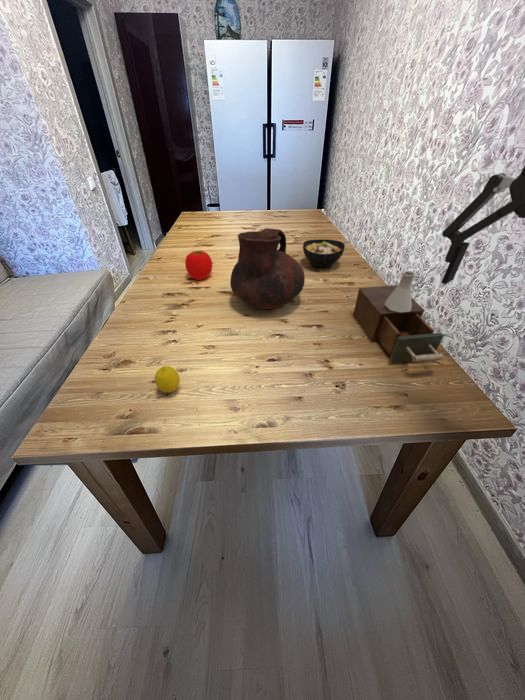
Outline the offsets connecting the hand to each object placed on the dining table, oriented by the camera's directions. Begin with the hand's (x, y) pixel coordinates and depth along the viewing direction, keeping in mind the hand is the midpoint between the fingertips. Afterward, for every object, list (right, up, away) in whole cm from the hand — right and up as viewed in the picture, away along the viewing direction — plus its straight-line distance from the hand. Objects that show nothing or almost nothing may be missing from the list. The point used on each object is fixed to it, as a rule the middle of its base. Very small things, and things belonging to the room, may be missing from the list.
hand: (488, 296), depth 46 cm
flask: (+1, +3, +33) cm, 34 cm away
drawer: (+2, -9, +32) cm, 34 cm away
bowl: (-11, +28, +78) cm, 84 cm away
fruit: (-59, -19, +24) cm, 67 cm away
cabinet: (+1, -1, +43) cm, 43 cm away
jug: (-35, +9, +56) cm, 67 cm away
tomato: (-62, +21, +71) cm, 97 cm away
